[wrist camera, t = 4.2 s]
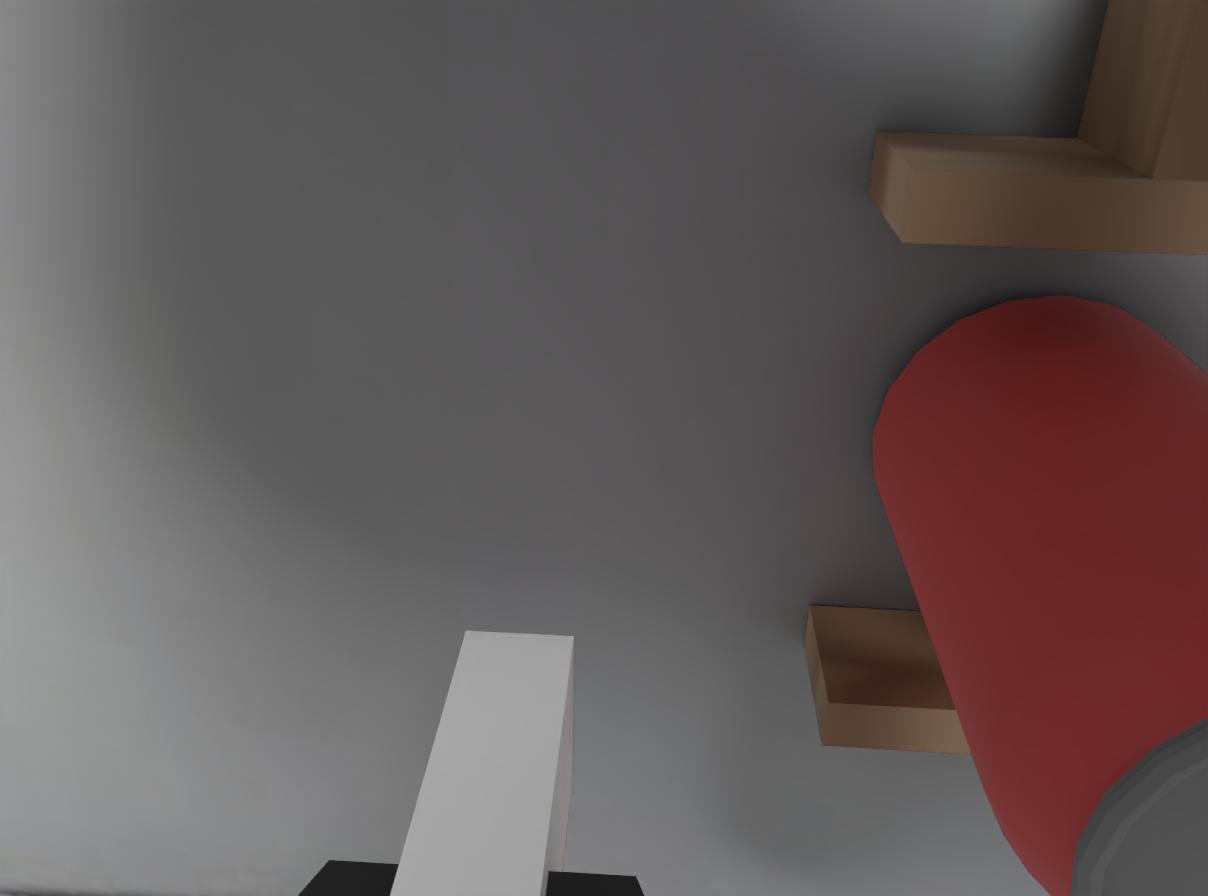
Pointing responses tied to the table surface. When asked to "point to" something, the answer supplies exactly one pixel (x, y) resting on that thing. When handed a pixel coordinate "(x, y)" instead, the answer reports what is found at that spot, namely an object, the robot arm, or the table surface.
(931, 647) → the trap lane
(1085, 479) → the beer can
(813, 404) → the table surface
